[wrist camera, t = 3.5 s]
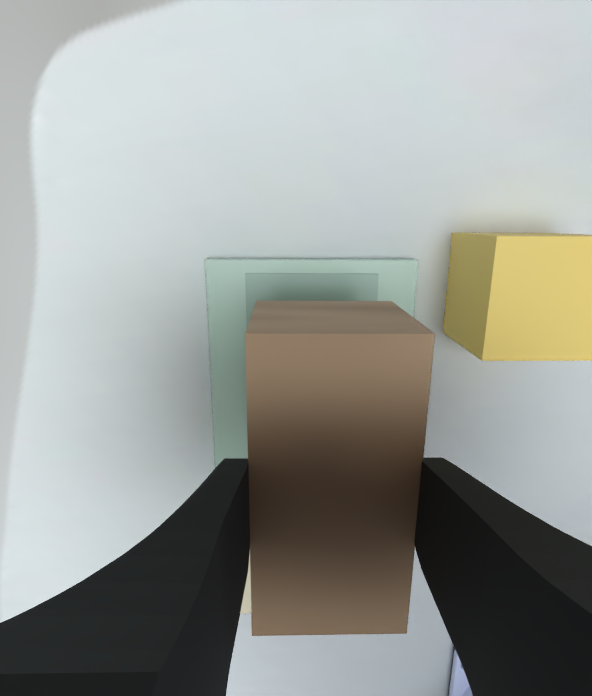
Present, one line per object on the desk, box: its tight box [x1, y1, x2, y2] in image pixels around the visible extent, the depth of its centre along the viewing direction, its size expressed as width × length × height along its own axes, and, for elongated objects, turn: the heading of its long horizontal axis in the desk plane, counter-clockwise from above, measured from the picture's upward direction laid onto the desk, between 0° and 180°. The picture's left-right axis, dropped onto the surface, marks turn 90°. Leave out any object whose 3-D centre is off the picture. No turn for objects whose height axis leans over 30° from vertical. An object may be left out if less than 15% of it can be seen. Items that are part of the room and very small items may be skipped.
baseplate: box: [205, 258, 418, 468], centre depth 19 cm, size 10×8×1 cm
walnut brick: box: [245, 301, 435, 636], centre depth 13 cm, size 8×4×4 cm, turn 0°
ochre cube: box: [443, 233, 592, 361], centre depth 16 cm, size 4×4×4 cm
